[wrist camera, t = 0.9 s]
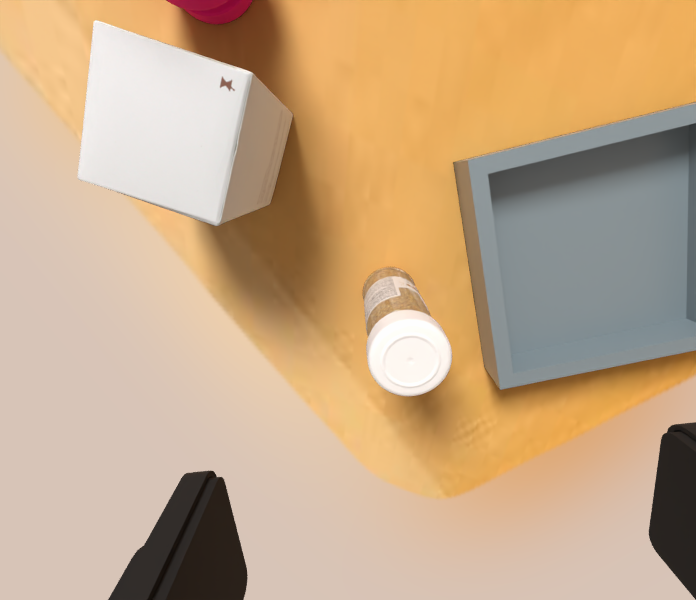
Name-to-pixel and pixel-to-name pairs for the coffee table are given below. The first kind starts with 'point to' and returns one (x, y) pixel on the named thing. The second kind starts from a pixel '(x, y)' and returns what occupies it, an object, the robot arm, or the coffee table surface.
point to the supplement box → (179, 128)
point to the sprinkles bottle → (403, 335)
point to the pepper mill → (214, 9)
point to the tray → (584, 247)
